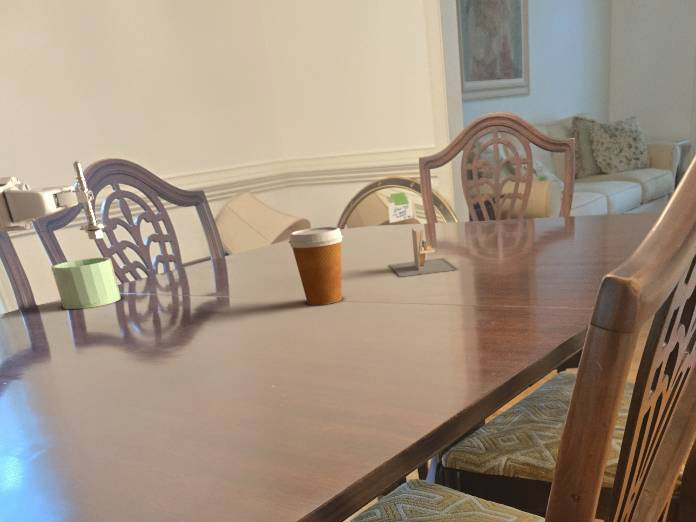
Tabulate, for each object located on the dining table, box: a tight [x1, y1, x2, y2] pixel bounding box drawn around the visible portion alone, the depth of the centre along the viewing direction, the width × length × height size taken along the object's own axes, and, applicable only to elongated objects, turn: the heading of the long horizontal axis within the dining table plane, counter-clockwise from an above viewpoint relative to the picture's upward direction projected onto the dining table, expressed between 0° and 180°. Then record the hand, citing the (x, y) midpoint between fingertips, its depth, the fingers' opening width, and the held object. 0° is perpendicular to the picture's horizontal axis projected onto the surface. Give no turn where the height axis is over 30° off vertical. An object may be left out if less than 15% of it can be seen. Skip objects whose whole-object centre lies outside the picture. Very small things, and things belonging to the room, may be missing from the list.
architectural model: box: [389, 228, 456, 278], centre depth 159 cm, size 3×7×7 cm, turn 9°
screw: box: [73, 160, 108, 241], centre depth 140 cm, size 13×5×5 cm
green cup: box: [50, 256, 122, 310], centre depth 159 cm, size 12×12×8 cm
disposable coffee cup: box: [288, 226, 343, 306], centre depth 137 cm, size 10×10×12 cm
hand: (90, 195), depth 139 cm, fingers closed on screw, 2 cm apart
